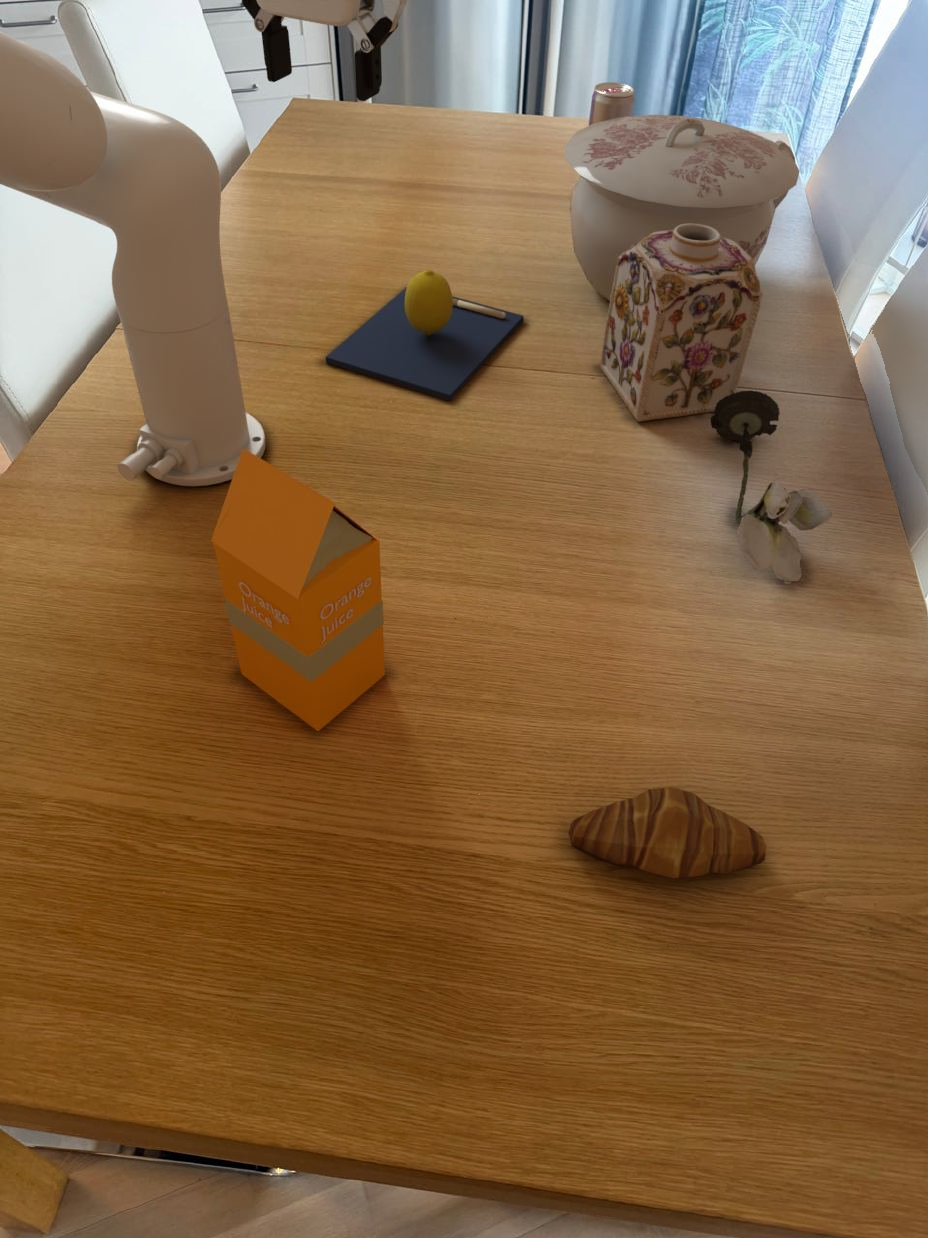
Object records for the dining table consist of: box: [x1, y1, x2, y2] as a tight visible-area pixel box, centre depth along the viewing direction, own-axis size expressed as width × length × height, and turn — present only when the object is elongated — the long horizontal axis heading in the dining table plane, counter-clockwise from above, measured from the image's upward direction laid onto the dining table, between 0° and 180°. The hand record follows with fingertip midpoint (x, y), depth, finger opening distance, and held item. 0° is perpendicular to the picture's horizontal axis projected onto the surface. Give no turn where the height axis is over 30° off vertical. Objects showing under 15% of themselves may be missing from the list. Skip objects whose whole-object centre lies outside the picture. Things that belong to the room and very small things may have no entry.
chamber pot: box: [564, 114, 800, 302], centre depth 113 cm, size 28×28×21 cm
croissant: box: [568, 786, 767, 879], centre depth 63 cm, size 14×7×5 cm, turn 85°
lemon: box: [405, 268, 453, 336], centre depth 107 cm, size 6×6×8 cm
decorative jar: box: [600, 224, 763, 422], centre depth 98 cm, size 12×12×18 cm
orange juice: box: [210, 448, 386, 732], centre depth 67 cm, size 8×9×20 cm
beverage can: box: [588, 81, 635, 126], centre depth 135 cm, size 6×6×15 cm
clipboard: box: [325, 286, 525, 402], centre depth 110 cm, size 20×16×2 cm
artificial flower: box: [710, 390, 834, 585], centre depth 88 cm, size 9×22×10 cm, turn 171°
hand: (323, 86), depth 87 cm, fingers open, 9 cm apart
